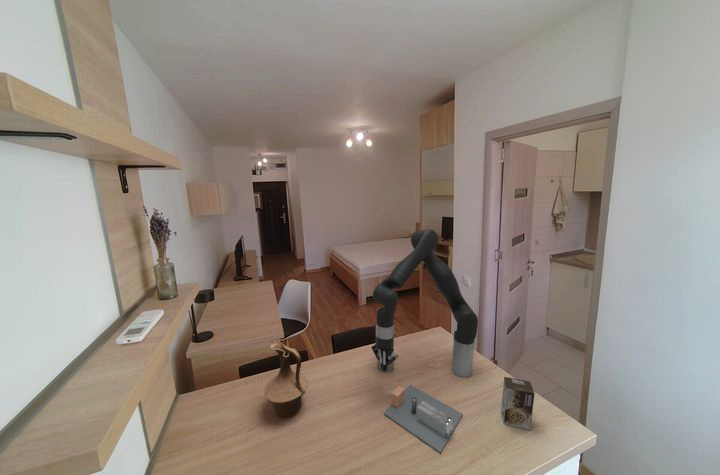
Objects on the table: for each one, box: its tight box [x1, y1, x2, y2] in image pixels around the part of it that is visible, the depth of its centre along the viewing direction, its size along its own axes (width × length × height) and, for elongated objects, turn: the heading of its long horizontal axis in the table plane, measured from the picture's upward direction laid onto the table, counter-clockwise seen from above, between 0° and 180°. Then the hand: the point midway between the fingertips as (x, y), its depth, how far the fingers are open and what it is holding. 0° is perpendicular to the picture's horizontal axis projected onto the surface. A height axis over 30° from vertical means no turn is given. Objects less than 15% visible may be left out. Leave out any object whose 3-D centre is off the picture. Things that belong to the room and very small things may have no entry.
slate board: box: [383, 384, 464, 455], centre depth 105 cm, size 20×24×1 cm
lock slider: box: [391, 385, 406, 408], centre depth 110 cm, size 3×5×6 cm, turn 138°
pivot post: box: [412, 397, 417, 414], centre depth 105 cm, size 2×2×6 cm
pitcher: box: [264, 342, 309, 419], centre depth 107 cm, size 18×17×28 cm
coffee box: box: [500, 376, 535, 431], centre depth 101 cm, size 9×6×16 cm
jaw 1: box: [420, 401, 453, 434], centre depth 100 cm, size 12×2×6 cm, turn 48°
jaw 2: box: [417, 405, 450, 438], centre depth 99 cm, size 12×2×6 cm, turn 49°
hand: (384, 370), depth 113 cm, fingers closed
